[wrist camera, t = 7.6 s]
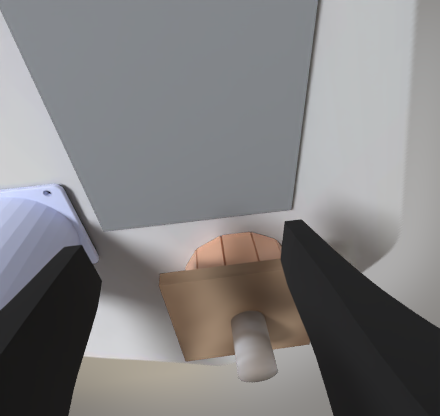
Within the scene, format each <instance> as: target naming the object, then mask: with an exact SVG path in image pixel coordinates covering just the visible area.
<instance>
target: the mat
mask: <svg viewBox="0 0 440 416" xmlns="http://www.w3.org/2000/svg"><path fill="white" fill-rule="evenodd" d="M317 5H318V0H0V10H1V12H2V14H3V16H4V19H5V21H6V23H7V25H8V27H9V29H10V32H11V34H12V36H13V38H14V40H15V42H16V44H17V47H18V49H19V51H20V53H21V55H22V57H23V59H24V62H25V64H26V66H27V68H28V70H29V72H30V74H31V77H32V79H33V81H34V83H35V85H36V87H37V90H38V92H39V94H40V96H41V98H42V100H43V102H44V105H45V107H46V109H47V111H48V113H49V115H50V117H51V120H52V122H53V124H54V126H55V128H56V130H57V133H58V135H59V137H60V139H61V141H62V143H63V145H64V148H65V150H66V152H67V154H68V156H69V158H70V160H71V163H72V165H73V167H74V169H75V171H76V173H77V175H78V178H79V180H80V182H81V184H82V186H83V188H84V191H85V193H86V195H87V197H88V199H89V201H90V203H91V206H92V208H93V210H94V212H95V214H96V216H97V218H98V221H99V223H100V225H101V227H102V229H103V231H104V232H105V231H114V230H122V229H131V228H139V227H148V226H156V225H165V224H173V223H182V222H190V221H199V220H207V219H216V218H224V217H233V216H241V215H250V214H258V213H267V212H275V211H284V210H291V208H292V200H293V193H294V185H295V177H296V169H297V161H298V153H299V146H300V138H301V130H302V122H303V114H304V106H305V99H306V91H307V83H308V75H309V67H310V59H311V52H312V44H313V36H314V28H315V20H316V12H317Z"/></svg>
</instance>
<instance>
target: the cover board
mask: <svg viewBox="0 0 440 416" xmlns="http://www.w3.org/2000/svg"><path fill="white" fill-rule="evenodd" d="M159 287H160V290H161V293H162V296H163V299H164V302H165V304H166V307H167V310H168V313H169V316H170V319H171V321H172V324H173V327H174V330H175V333H176V335H177V338H178V341H179V344H180V347H181V350H182V352H183V355H184V358H185V361H193V360H201V359H208V358H215V357H222V356H229V355H235V357H236V364H237V371H238V377H239V379H240V380H241V381H244V382H259V381H264V380H267V379H270V378H271V377H273V376H275V375H276V374H277V372H278V369H277V365H276V361H275V358H274V354H273V349H279V348H286V347H294V346H301V345H308V344H309V343H310V340H309V337H308V335H307V332H306V330H305V327H304V325H303V322H302V320H301V318H300V315H299V313H298V310H297V308H296V305H295V303H294V300H293V298H292V295H291V293H290V290H289V288H288V285H287V282H286V279H285V275H284V271H283V268H282V264H281V260H280V259H272V260H264V261H257V262H249V263H241V264H233V265H225V266H217V267H209V268H201V269H193V270H186V271H178V272H170V273H162V274H160V279H159Z"/></svg>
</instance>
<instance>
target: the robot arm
mask: <svg viewBox="0 0 440 416" xmlns="http://www.w3.org/2000/svg"><path fill="white" fill-rule="evenodd" d="M46 190H47V191H50V192H51V193H48V192H46ZM98 260H99V256H98V254H97V252H96V250H95V248H94V246H93V244H92V242H91V240H90V238H89V236H88V234H87V233H86V231H85V229H84V227H83V225H82V223H81V221H80V219H79V217H78V215H77V213H76V211H75V210H74V208H73V206H72V204H71V202H70V200H69V198H68V196H67V194H66V192H65V190H64V189H63V187H61V186H60V185H58V184H48V185H39V186H30V187H21V188H12V189H2V190H0V416H68V414H69V409H70V405H71V399H72V395H73V390H74V386H75V382H76V379H77V375H78V371H79V368H80V365H81V362H82V358H83V355H84V352H85V349H86V345H87V342H88V339H89V335H90V332H91V329H92V325H93V322H94V319H95V315H96V312H97V308H98V302H99V297H100V290H101V283H102V280H101V279H100V277H99V275H98V273H97V271H96V269H95V268H94V266H93V264H94V263H97V262H98ZM280 260H281V264H282V268H283V271H284V275H285V279H286V282H287V285H288V288H289V290H290V293H291V295H292V298H293V300H294V303H295V305H296V308H297V310H298V313H299V315H300V318H301V320H302V322H303V325H304V327H305V330H306V332H307V335H308V337H309V340H310V342H311V345H312V347H313V350H314V353H315V355H316V358H317V362H318V365H319V368H320V371H321V375H322V378H323V381H324V384H325V388H326V391H327V395H328V398H329V401H330V405H331V408H332V412H333V415H334V416H440V328H438V327H436V326H435V325H433V324H431V323H430V322H428V321H427V320H425V319H424V318H422V317H421V316H419V315H418V314H416V313H415V312H413V311H412V310H410V309H409V308H407V307H406V306H405V305H403V304H402V303H400V302H399V301H397V300H396V299H395V298H393V297H392V296H390V295H389V294H387V293H386V292H385V291H383V290H382V289H381V288H379V287H378V286H377V285H376V284H374V283H373V282H372V281H370V280H369V279H368V278H367V277H365V276H364V275H363V274H362V273H360V272H359V271H358V270H357V269H356V268H354V267H353V266H352V265H351V264H350V263H349V262H347V261H346V260H345V259H344V258H343V257H342V256H341V255H339V254H338V253H337V252H336V251H335V250H334V249H333V248H332V247H330V246H329V245H328V244H327V243H326V242H325V241H324V240H323V239H322V238H321V237H320V236H319V235H318V234H317V233H315V232H314V231H313V230H312V229H311V228H310V227H309V226H308V225H307V224H306V223H305V222H304V221H303V220H293V221H285V224H284V233H283V241H282V249H281V258H280Z"/></svg>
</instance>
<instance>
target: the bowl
mask: <svg viewBox="0 0 440 416" xmlns="http://www.w3.org/2000/svg"><path fill="white" fill-rule="evenodd" d="M281 249H282V246H281V245H280V244H279V243H278V241H277V240H275V239H273V238H270V237H266V236H263V235H260V234H257V233H253V232H252V233H251V234H250V232H245V233H237V234H228V235H222V238H221V237H220V236H219V237H217V238H215V239H213V240H212V241H210V242H208V243H206V244H205V245H203V246H201V247H199V248H197V250H195V252H194V254H193V255H192V257H191V259H190V260H189V262H188V264H187V265H186V268H185V271H186V270H193V269H201V268H209V267H217V266H225V265H233V264H241V263H249V262H257V261H264V260H272V259H280V258H281Z"/></svg>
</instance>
